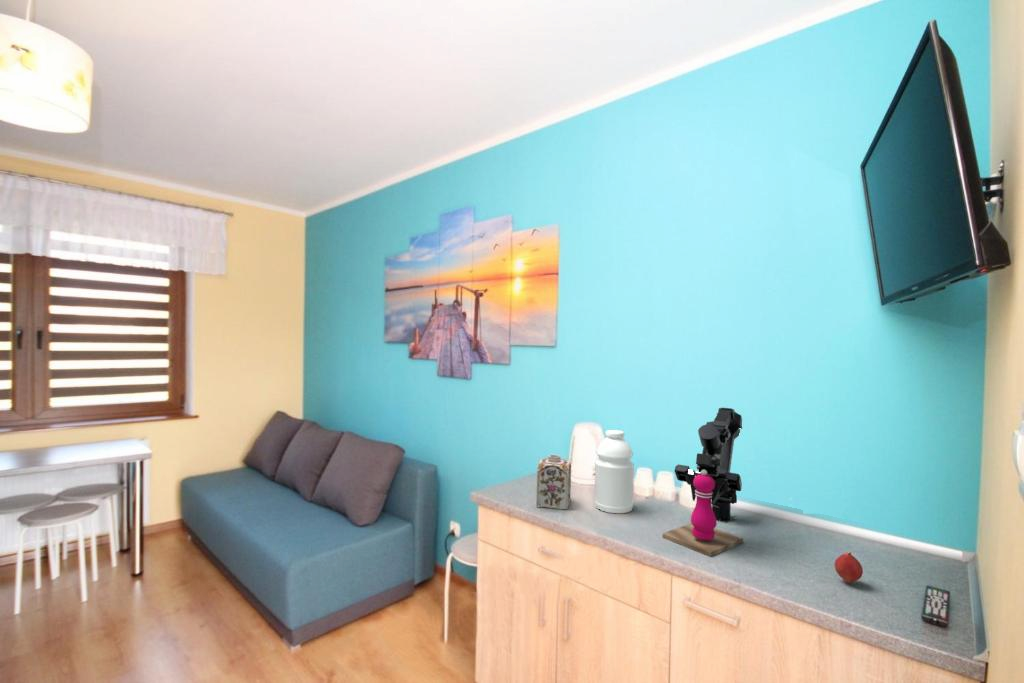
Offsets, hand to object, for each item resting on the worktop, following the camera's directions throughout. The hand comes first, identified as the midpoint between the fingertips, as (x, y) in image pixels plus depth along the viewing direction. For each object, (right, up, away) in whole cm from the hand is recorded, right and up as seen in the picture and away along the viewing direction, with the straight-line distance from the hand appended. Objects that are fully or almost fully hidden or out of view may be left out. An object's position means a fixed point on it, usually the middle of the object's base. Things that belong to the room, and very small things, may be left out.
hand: (702, 501), depth 138 cm
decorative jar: (-41, -13, +35) cm, 56 cm away
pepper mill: (+1, -11, +1) cm, 11 cm away
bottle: (-20, -13, +32) cm, 40 cm away
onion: (+28, -13, -21) cm, 38 cm away
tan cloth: (+2, -13, +4) cm, 14 cm away
